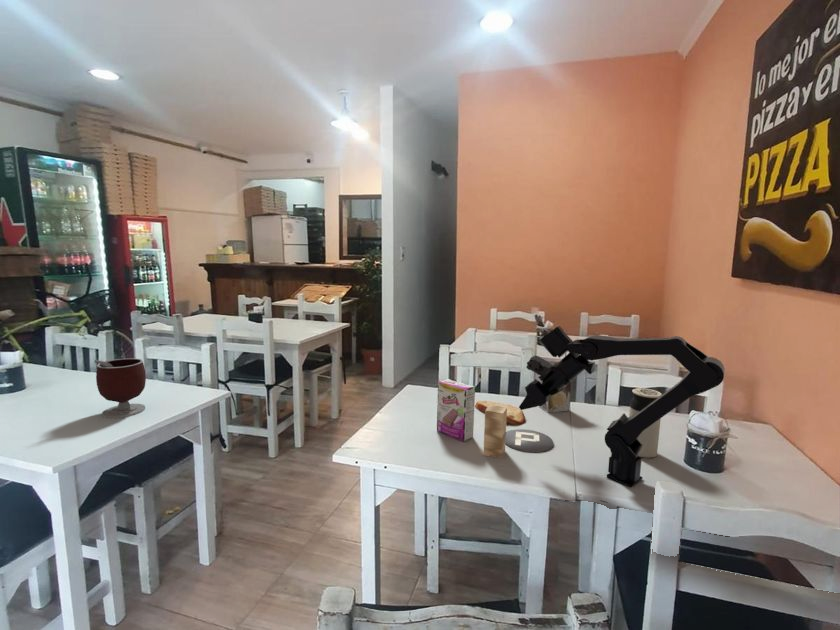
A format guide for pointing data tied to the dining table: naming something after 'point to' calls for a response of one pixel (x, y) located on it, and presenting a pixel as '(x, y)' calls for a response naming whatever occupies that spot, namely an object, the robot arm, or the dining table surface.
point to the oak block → (495, 431)
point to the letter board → (528, 440)
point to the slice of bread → (513, 413)
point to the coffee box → (558, 400)
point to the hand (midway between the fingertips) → (526, 404)
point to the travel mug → (652, 432)
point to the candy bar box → (455, 409)
